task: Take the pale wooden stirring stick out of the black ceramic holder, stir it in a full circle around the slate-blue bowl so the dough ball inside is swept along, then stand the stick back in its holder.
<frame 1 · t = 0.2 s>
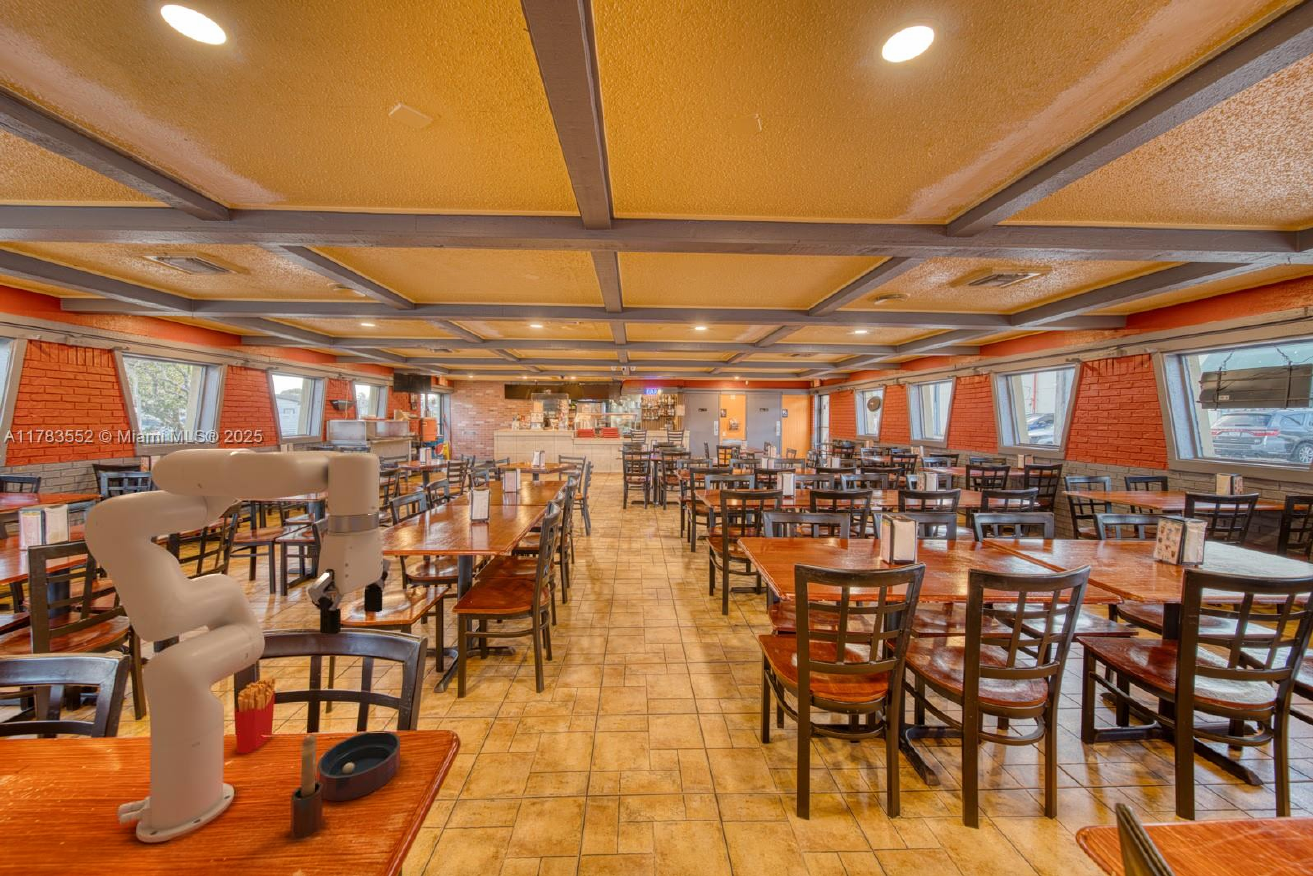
hand: (353, 621, 81), 37 cm above the table, tool pointing down, fingers open, 9 cm apart
french fries: (255, 743, 105), on the table
stick: (306, 827, 82), resting on holder
dough ball: (348, 768, 95), point 2 cm above the table, touching bowl
holder: (306, 830, 82), on the table
bowl: (360, 777, 95), on the table
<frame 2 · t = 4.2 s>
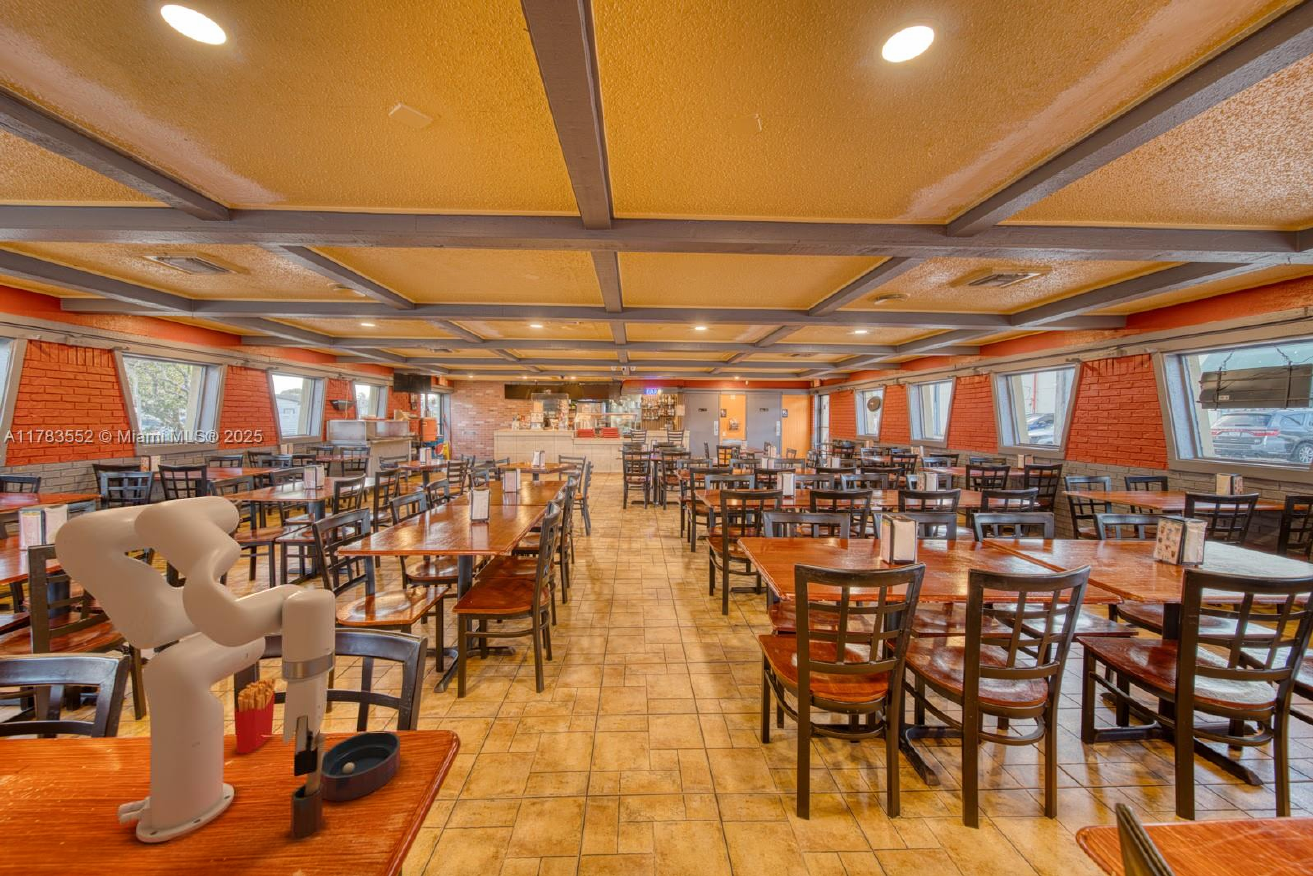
hand: (307, 767, 82), 11 cm above the table, tool pointing down, fingers closed on stick, 2 cm apart
stick: (306, 827, 82), point 1 cm above the table, tilted 6°, touching gripper
everything else where it was.
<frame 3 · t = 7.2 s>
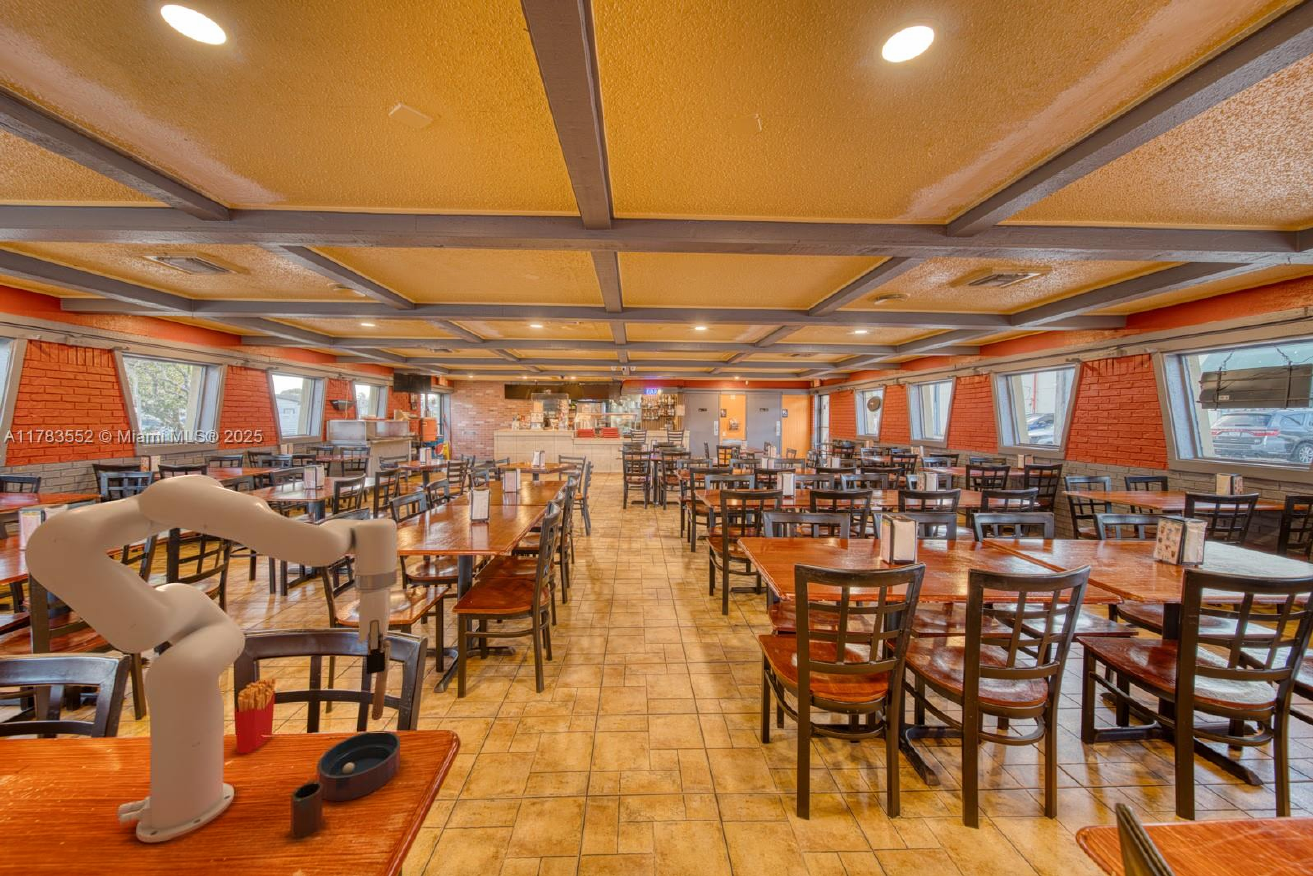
hand: (376, 668, 96), 22 cm above the table, tool pointing down, fingers closed on stick
stick: (376, 719, 96), point 11 cm above the table, tilted 5°, touching gripper
everything else where it was.
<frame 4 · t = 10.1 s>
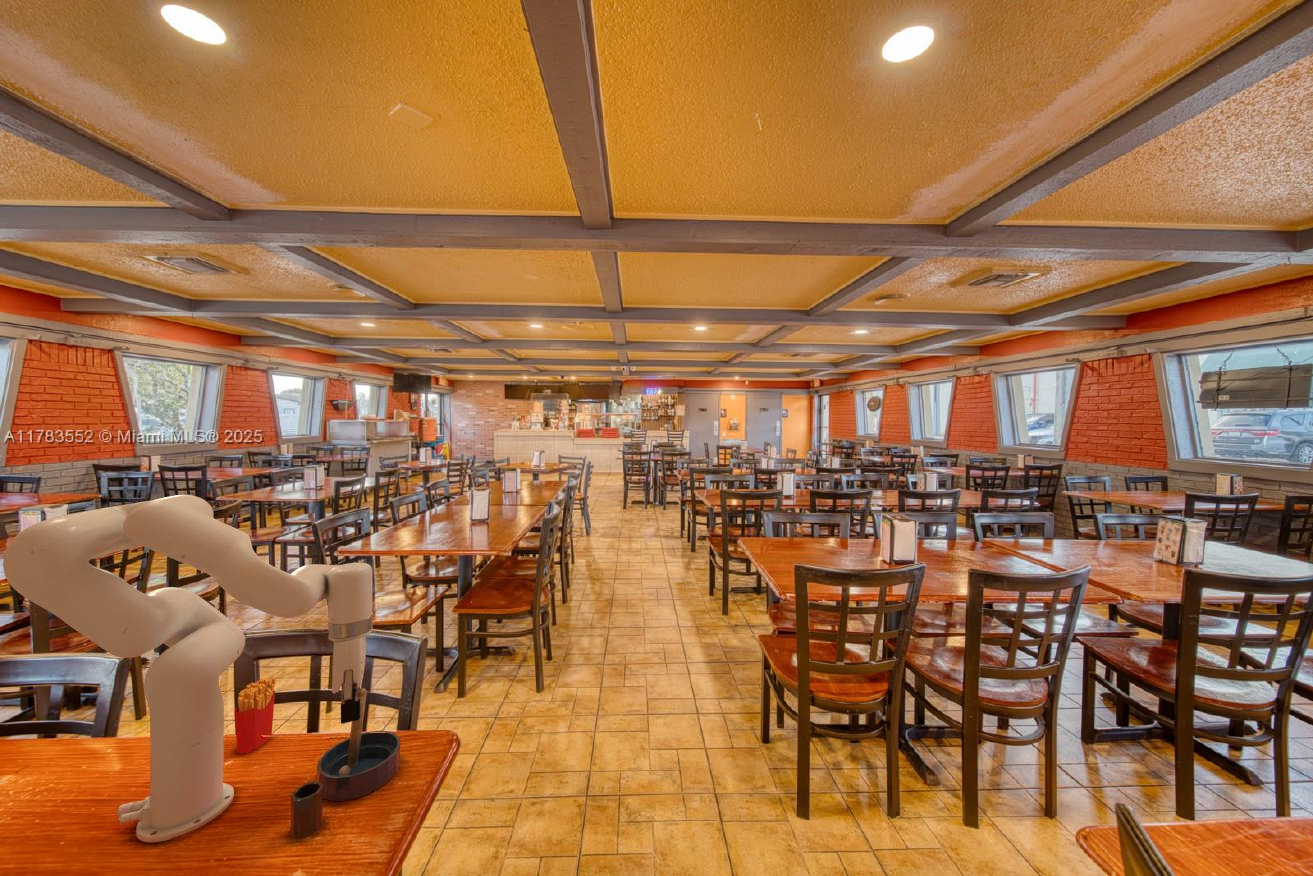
hand: (351, 716, 95), 13 cm above the table, tool pointing down, fingers closed on stick, 2 cm apart
stick: (352, 766, 95), point 2 cm above the table, tilted 7°, touching dough ball, gripper
dough ball: (344, 771, 94), point 2 cm above the table, tilted 49°, touching bowl, stick
everything else where it was.
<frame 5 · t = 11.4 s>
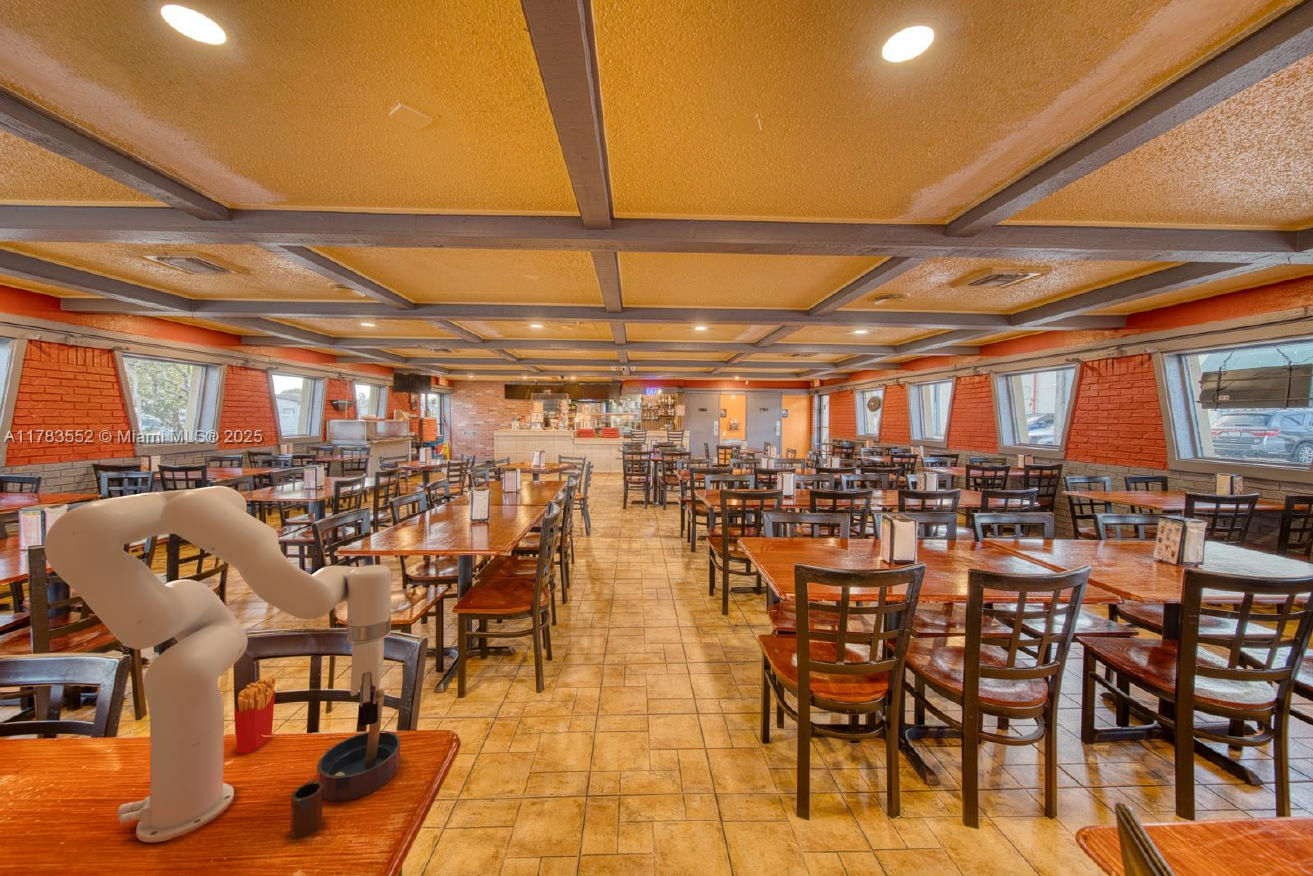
hand: (368, 719, 94), 12 cm above the table, tool pointing down, fingers closed on stick, 2 cm apart
stick: (369, 771, 94), point 2 cm above the table, tilted 6°, touching gripper
dough ball: (338, 778, 93), point 2 cm above the table, tilted 146°, touching bowl
everything else where it was.
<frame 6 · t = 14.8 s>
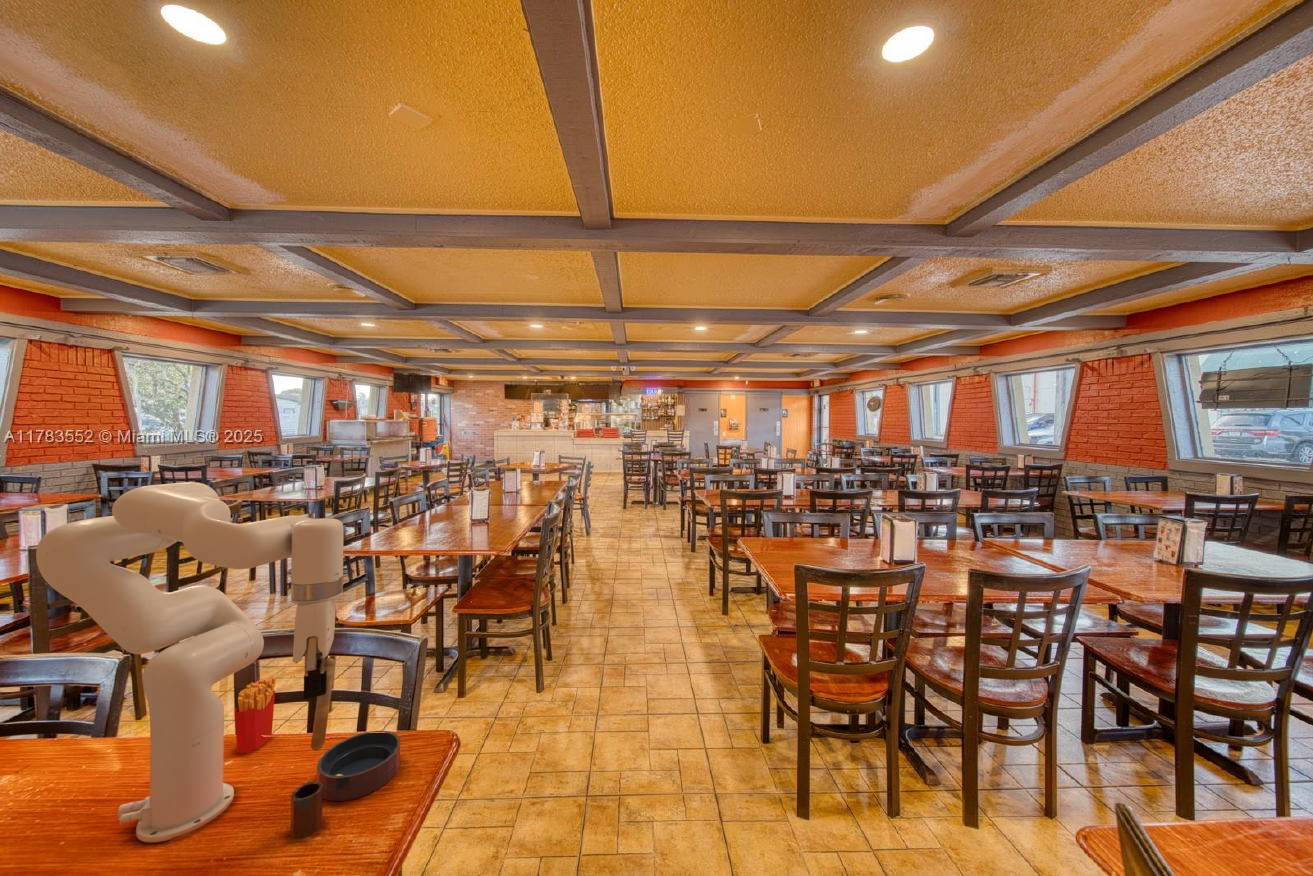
hand: (316, 691, 84), 24 cm above the table, tool pointing down, fingers closed on stick
stick: (316, 749, 84), point 13 cm above the table, tilted 6°, touching gripper
dough ball: (337, 780, 92), point 2 cm above the table, tilted 156°, touching bowl
everything else where it was.
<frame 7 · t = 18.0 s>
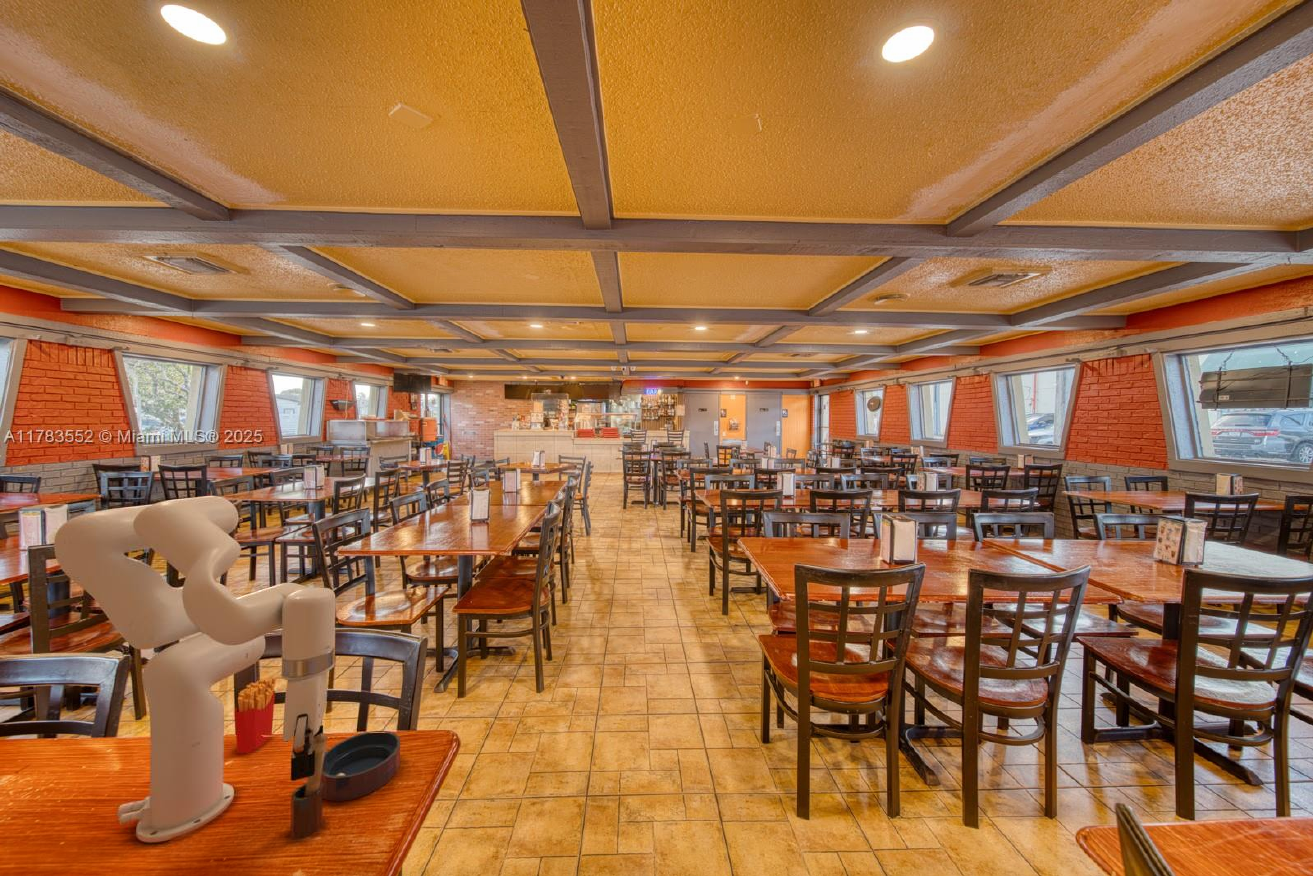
hand: (307, 762, 82), 12 cm above the table, tool pointing down, fingers open, 7 cm apart
stick: (305, 827, 82), point 1 cm above the table, tilted 7°, touching holder
dough ball: (339, 779, 92), point 2 cm above the table, tilted 142°, touching bowl
everything else where it was.
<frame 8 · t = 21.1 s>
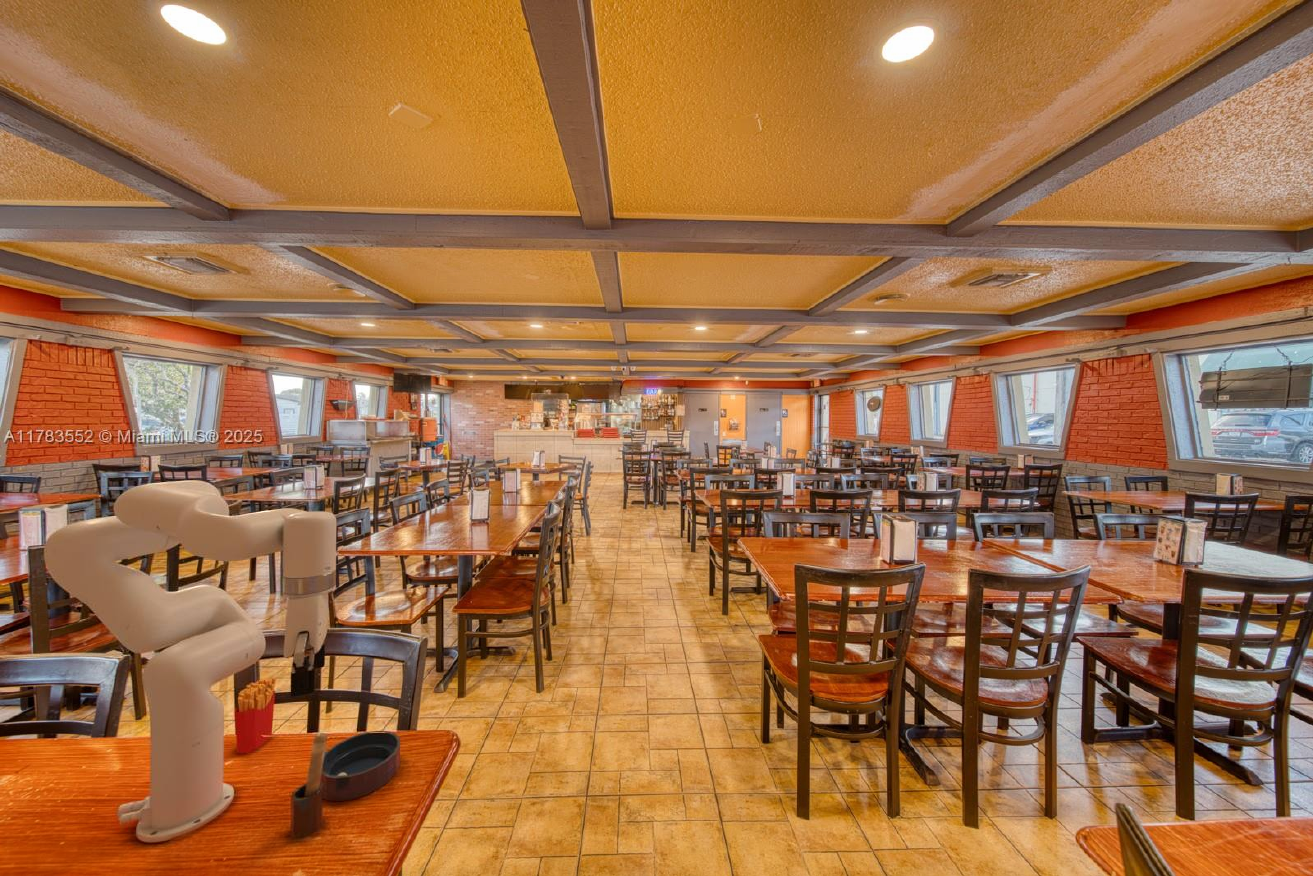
hand: (308, 680, 82), 26 cm above the table, tool pointing down, fingers open, 9 cm apart
dough ball: (341, 778, 92), point 2 cm above the table, tilted 126°, touching bowl
everything else where it was.
at the end: dough ball moved 2.8 cm from its start; dough ball inside the target area in the bowl (3.4 cm from its centre), point 1.6 cm above the bowl's base; stick 0.2 cm off-centre in the holder, point 0.5 cm above the holder's base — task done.
